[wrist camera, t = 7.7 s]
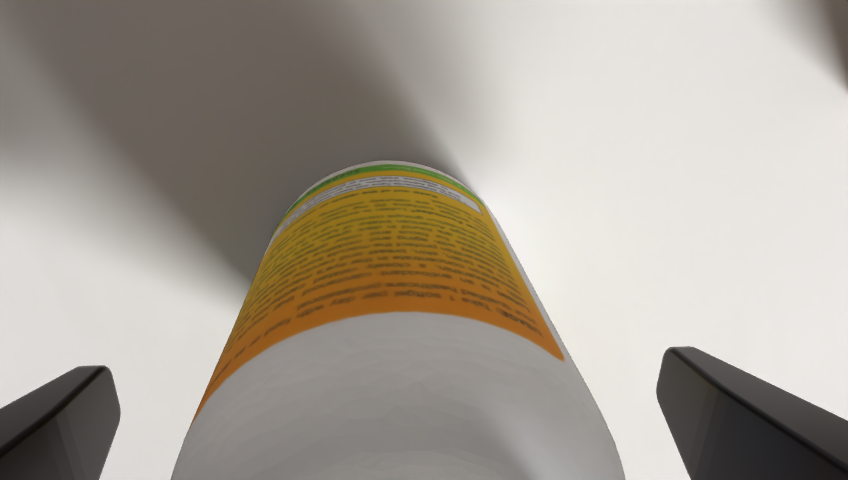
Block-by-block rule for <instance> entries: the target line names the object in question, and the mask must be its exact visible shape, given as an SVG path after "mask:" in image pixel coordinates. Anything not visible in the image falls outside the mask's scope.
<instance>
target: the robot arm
mask: <svg viewBox="0 0 848 480" xmlns="http://www.w3.org/2000/svg"><path fill="white" fill-rule="evenodd" d="M656 393H657V399H658V402H659V405H660V407H661V410H662V412H663V415H664V417H665V419H666V422H667V424H668V427H669V429H670V431H671V434H672V436H673V439H674V441H675V443H676V446H677V448H678V451H679V453H680V455H681V458H682V460H683V462H684V465H685V467H686V470H687V472H688V474H689V476H690V478H691V480H848V421H847V420H845V419H843V418H841V417H839V416H837V415H835V414H833V413H831V412H828V411H826V410H824V409H822V408H820V407H818V406H816V405H814V404H812V403H810V402H807V401H805V400H803V399H801V398H799V397H797V396H795V395H793V394H791V393H789V392H787V391H784V390H782V389H780V388H778V387H776V386H774V385H772V384H770V383H768V382H766V381H764V380H761V379H759V378H757V377H755V376H753V375H751V374H749V373H747V372H745V371H743V370H741V369H738V368H736V367H734V366H732V365H730V364H728V363H726V362H724V361H722V360H720V359H718V358H715V357H713V356H711V355H709V354H707V353H705V352H703V351H701V350H699V349H697V348H694V347H690V346H688V347H670V348H668V349H667V350H666V351H665V353H664V356H663V360H662V364H661V369H660V373H659V378H658V382H657V388H656ZM119 421H120V405H119V401H118V396H117V392H116V388H115V384H114V380H113V376H112V373H111V371H110V369H109V368H108V367H106V366H104V365H99V366H79V367H76V368H74V369H73V370H71V371H69V372H67V373H65V374H63V375H61V376H60V377H58V378H56V379H54V380H52V381H50V382H49V383H47V384H45V385H43V386H41V387H39V388H38V389H36V390H34V391H32V392H30V393H28V394H27V395H25V396H23V397H21V398H19V399H17V400H15V401H14V402H12V403H10V404H8V405H6V406H4V407H3V408H1V409H0V480H99V478H100V475H101V473H102V470H103V467H104V464H105V461H106V458H107V456H108V453H109V450H110V447H111V444H112V442H113V439H114V436H115V433H116V430H117V428H118V425H119Z"/></svg>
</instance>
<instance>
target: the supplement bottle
mask: <svg viewBox="0 0 848 480" xmlns="http://www.w3.org/2000/svg"><path fill="white" fill-rule="evenodd" d="M171 480H625V475H624V471H623V467H622V464H621V460H620V457H619V454H618V451H617V448H616V445H615V442H614V440H613V438H612V435H611V433H610V431H609V429H608V426H607V424H606V422H605V420H604V418H603V416H602V414H601V412H600V410H599V408H598V406H597V404H596V402H595V400H594V398H593V396H592V394H591V392H590V390H589V389H588V387H587V385H586V383H585V381H584V380H583V378H582V376H581V374H580V372H579V371H578V369H577V367H576V365H575V363H574V362H573V360H572V358H571V356H570V354H569V353H568V351H567V349H566V347H565V345H564V343H563V342H562V340H561V338H560V336H559V334H558V332H557V331H556V329H555V327H554V325H553V323H552V321H551V319H550V318H549V316H548V314H547V312H546V310H545V308H544V307H543V305H542V303H541V301H540V299H539V297H538V295H537V294H536V292H535V290H534V288H533V286H532V284H531V282H530V280H529V279H528V277H527V275H526V273H525V271H524V269H523V267H522V265H521V264H520V262H519V260H518V258H517V256H516V254H515V252H514V250H513V249H512V247H511V245H510V243H509V241H508V239H507V237H506V235H505V233H504V232H503V230H502V228H501V226H500V225H499V223H498V221H497V220H496V218H495V217H494V215H493V214H492V212H491V211H490V209H489V208H488V207H487V205H486V204H485V203H484V202H483V201H482V200H481V199H480V198H479V197H478V196H477V195H476V194H475V193H474V192H473V191H472V190H471V189H469V188H468V187H467V186H465V185H464V184H463V183H461V182H460V181H458V180H456V179H455V178H453V177H451V176H449V175H447V174H445V173H443V172H441V171H439V170H436V169H434V168H431V167H428V166H424V165H421V164H417V163H412V162H405V161H391V160H384V161H372V162H367V163H362V164H358V165H354V166H350V167H347V168H345V169H342V170H339V171H337V172H335V173H333V174H330V175H328V176H327V177H325V178H323V179H321V180H320V181H318V182H317V183H315V184H314V185H312V186H311V187H310V188H308V189H307V190H306V191H305V192H304V193H302V194H301V195H300V196H299V197H298V198H297V199H296V201H295V202H294V203H293V204H292V205H291V206H290V207H289V209H288V210H287V212H286V213H285V215H284V216H283V218H282V219H281V221H280V222H279V224H278V226H277V228H276V230H275V231H274V233H273V235H272V238H271V240H270V242H269V245H268V247H267V249H266V251H265V254H264V256H263V259H262V261H261V264H260V266H259V268H258V271H257V273H256V276H255V278H254V280H253V283H252V285H251V287H250V289H249V291H248V294H247V296H246V298H245V301H244V303H243V306H242V308H241V310H240V313H239V315H238V318H237V320H236V322H235V325H234V327H233V329H232V332H231V334H230V336H229V338H228V341H227V343H226V345H225V347H224V350H223V352H222V354H221V356H220V359H219V361H218V363H217V366H216V368H215V370H214V372H213V375H212V377H211V379H210V382H209V384H208V386H207V388H206V391H205V393H204V395H203V398H202V400H201V402H200V405H199V407H198V409H197V411H196V414H195V416H194V418H193V421H192V423H191V425H190V428H189V430H188V432H187V434H186V437H185V439H184V442H183V445H182V447H181V450H180V453H179V456H178V459H177V462H176V464H175V467H174V470H173V473H172V477H171Z"/></svg>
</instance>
